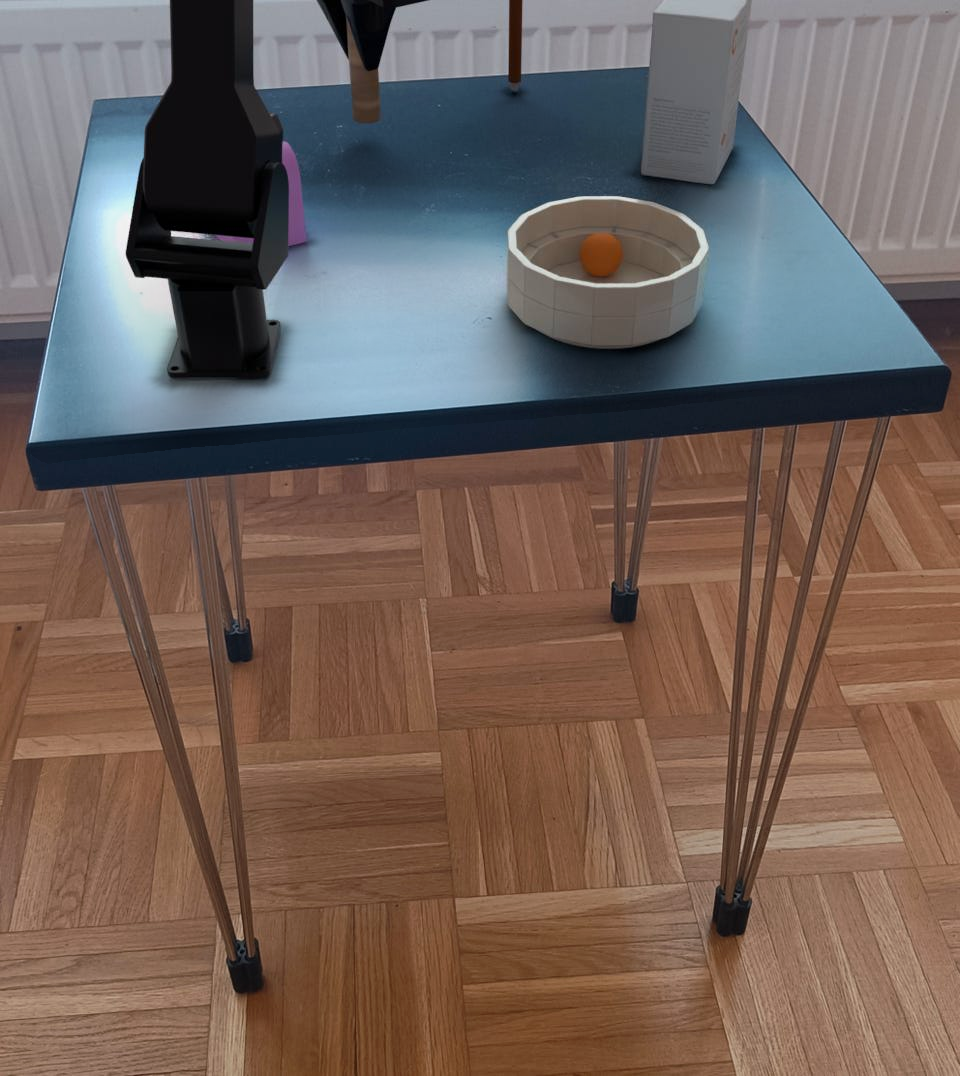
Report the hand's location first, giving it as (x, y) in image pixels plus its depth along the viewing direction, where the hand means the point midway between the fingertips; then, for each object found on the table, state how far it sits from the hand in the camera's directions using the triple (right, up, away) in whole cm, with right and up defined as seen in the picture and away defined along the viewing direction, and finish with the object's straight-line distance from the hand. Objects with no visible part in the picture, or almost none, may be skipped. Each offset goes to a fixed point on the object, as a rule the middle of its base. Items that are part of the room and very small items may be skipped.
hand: (363, 65), depth 104 cm
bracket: (-9, -15, -7) cm, 19 cm away
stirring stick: (0, -3, +3) cm, 4 cm away
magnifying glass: (+13, +2, +13) cm, 18 cm away
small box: (+27, -8, 0) cm, 28 cm away
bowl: (+18, -23, -18) cm, 35 cm away
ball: (+18, -20, -17) cm, 32 cm away
